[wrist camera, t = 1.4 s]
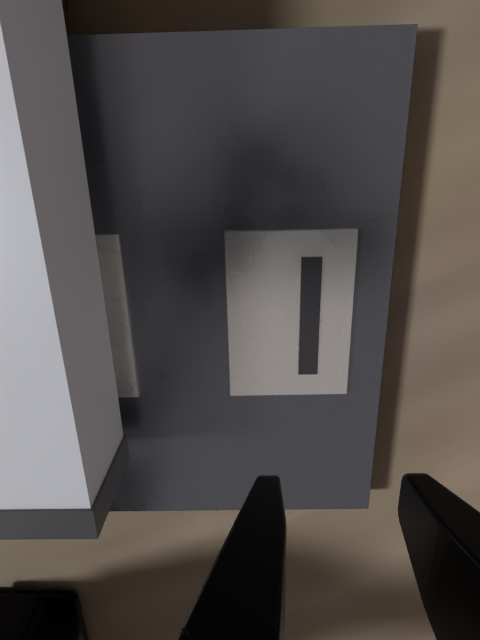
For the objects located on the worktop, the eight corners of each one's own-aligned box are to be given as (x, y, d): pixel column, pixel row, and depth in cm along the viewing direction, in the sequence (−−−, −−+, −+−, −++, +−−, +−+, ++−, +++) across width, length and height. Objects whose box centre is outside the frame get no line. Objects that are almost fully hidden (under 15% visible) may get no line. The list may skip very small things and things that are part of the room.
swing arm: (-106, -136, 12) (-288, -292, 8) (46, -142, 11) (-58, -303, 8) (33, 459, 18) (-25, 539, 14) (129, 458, 18) (97, 538, 14)
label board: (361, 490, 22) (373, 524, 20) (53, 494, 22) (33, 528, 20) (416, -93, 14) (447, -139, 12) (-74, -75, 14) (-129, -116, 12)
